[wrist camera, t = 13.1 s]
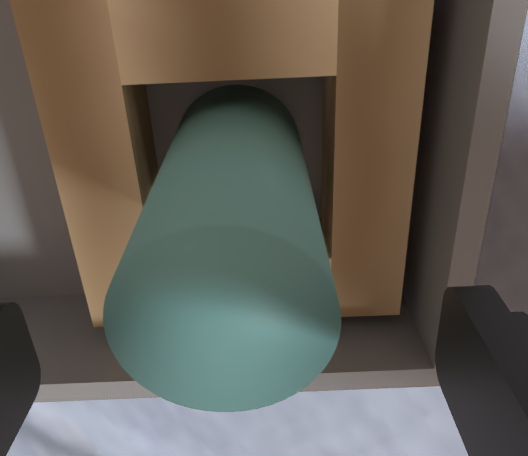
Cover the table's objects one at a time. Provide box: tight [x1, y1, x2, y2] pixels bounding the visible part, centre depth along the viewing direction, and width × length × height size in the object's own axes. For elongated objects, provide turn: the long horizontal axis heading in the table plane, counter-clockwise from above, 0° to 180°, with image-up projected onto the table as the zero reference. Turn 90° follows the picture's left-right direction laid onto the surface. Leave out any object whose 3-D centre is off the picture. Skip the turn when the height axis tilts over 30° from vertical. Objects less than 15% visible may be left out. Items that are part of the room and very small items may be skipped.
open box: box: [0, 0, 528, 402], centre depth 15 cm, size 20×20×6 cm
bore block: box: [9, 0, 434, 327], centre depth 17 cm, size 11×11×3 cm
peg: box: [103, 84, 341, 412], centre depth 14 cm, size 4×4×10 cm
